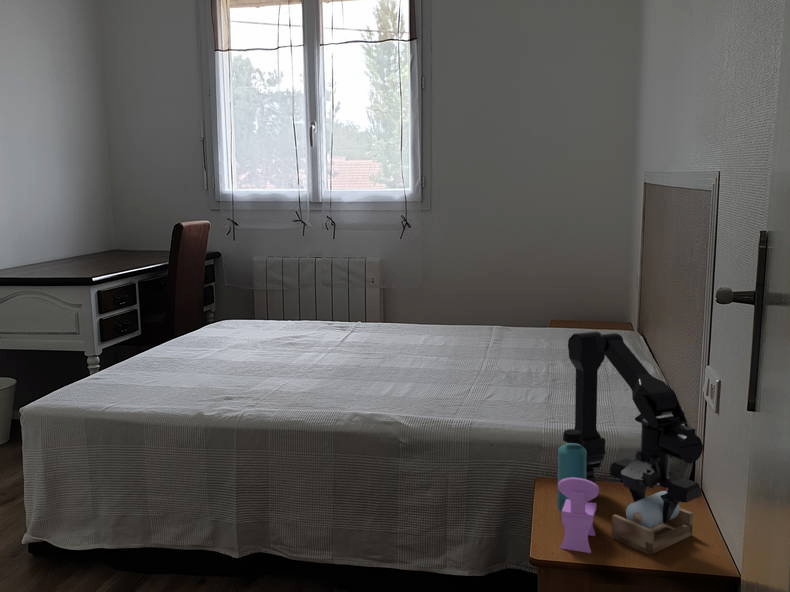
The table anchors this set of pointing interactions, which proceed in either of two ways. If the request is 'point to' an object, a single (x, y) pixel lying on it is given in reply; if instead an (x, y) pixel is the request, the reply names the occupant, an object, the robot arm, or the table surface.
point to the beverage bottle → (571, 460)
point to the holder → (652, 532)
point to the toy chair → (578, 512)
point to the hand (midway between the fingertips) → (652, 517)
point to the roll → (649, 511)
